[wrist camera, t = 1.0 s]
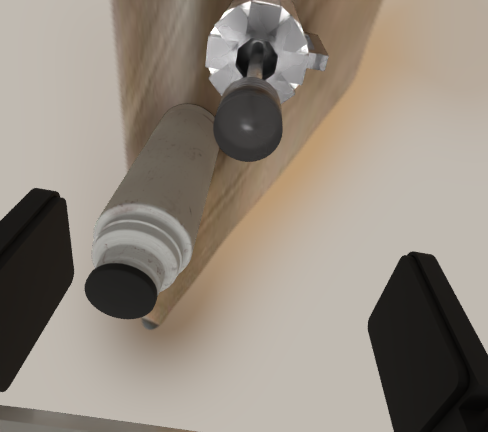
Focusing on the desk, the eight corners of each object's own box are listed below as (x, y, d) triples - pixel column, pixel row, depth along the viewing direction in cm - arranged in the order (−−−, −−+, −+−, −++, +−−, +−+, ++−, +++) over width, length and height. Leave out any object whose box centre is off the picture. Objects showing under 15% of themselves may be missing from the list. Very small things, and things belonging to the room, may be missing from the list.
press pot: (231, -23, 39) (212, -7, 26) (322, -5, 40) (348, 20, 27) (222, 54, 44) (201, 101, 30) (304, 70, 44) (318, 123, 31)
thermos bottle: (232, 149, 50) (198, 321, 27) (179, 170, 52) (107, 345, 30) (203, 93, 46) (136, 238, 23) (147, 118, 48) (35, 274, 26)
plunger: (235, 11, 31) (203, 70, 16) (291, 22, 31) (309, 90, 17) (227, 69, 34) (193, 165, 19) (279, 79, 34) (285, 181, 19)
